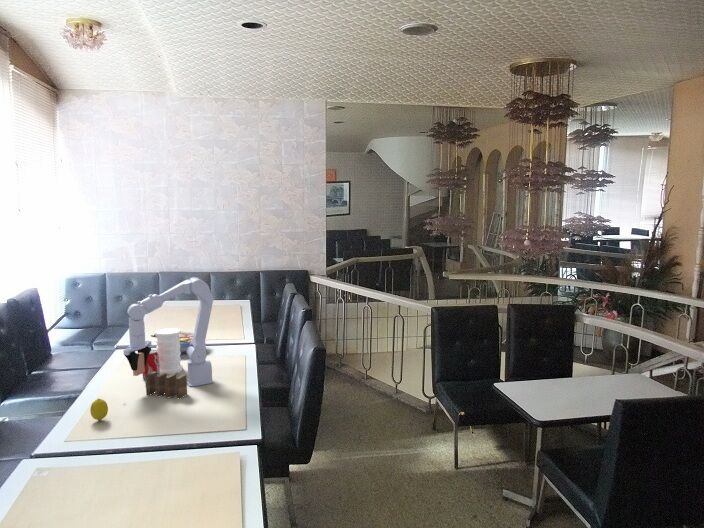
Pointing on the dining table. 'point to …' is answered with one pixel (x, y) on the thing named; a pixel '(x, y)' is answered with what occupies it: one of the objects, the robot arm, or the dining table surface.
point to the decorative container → (169, 350)
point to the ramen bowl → (184, 340)
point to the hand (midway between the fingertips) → (138, 367)
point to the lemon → (99, 409)
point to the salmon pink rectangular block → (140, 365)
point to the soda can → (152, 364)
